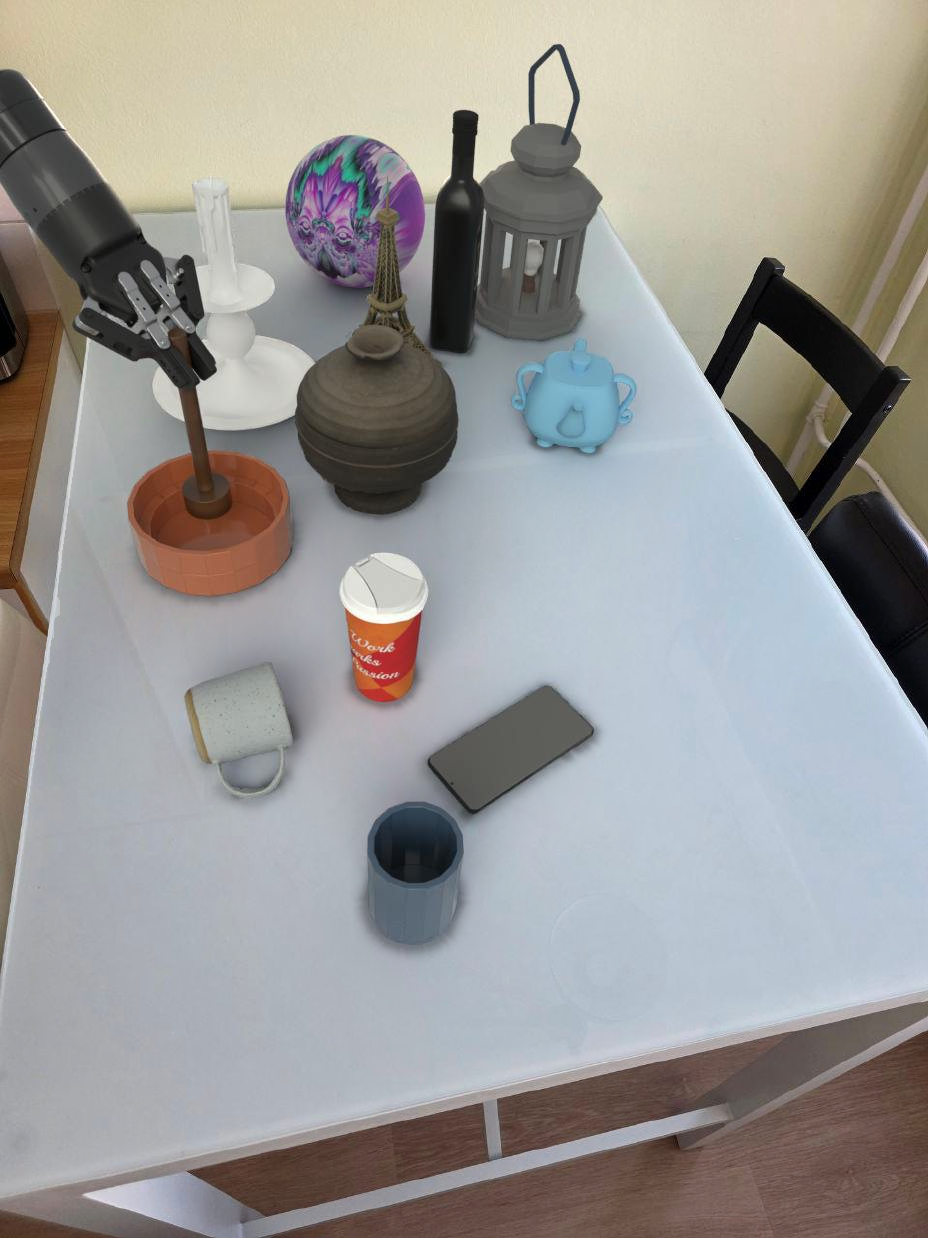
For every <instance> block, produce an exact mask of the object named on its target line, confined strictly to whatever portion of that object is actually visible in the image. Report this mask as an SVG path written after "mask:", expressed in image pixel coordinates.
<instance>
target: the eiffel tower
mask: <svg viewBox="0 0 928 1238" xmlns="http://www.w3.org/2000/svg"><path fill="white" fill-rule="evenodd" d="M377 213H379V214H378V215H377V217H376V218H375V219H376V220H377V221H379V222H380V223H381V226H380V235H379V244H378V253H377V262H376V270H375V277H374V285H373V286H372V293H369V294H367V296H366V299H365V300H366V302H368V303H369V307H368V310H367V314H366V316H365V319H364V321H363V323H362V324H359V325H358V328H359V327H362V326H366V325H382V326H388V327H391V328H393V329H395V330H397V331H398V332H399V333H400V334H401V335H402V337H403V340H404V343H405V344H408V345H410V346H413V347H415V348H417V349H419V350H421V351H423V352H425V353H426V354H428V355H429V356H430V357H432V358H433V359H434V360H436V361H437V362H438V363H439V364H440V365H441V366H442V365H443V362H441V361H440V360H438V359H436V358H435V357H434V354H433V353H432V352H431V350H430V349H429V348H428V347H427V346H426V344H424V342H423V341H422V340H421V339H420V337H419V336H418V335H417V334H416V332H414V330H415V329H416V326H414V325H412V323H411V321H410V319H409V317H408V313H407V308H406V305H405V304H406V303H407V301H409V298H408V295H407V293H403V289H402V281H401V274H400V273H401V272H400V273H399V265H398V257H397V247H396V238H395V229H394V223H395V222H397V221H399V220H400V219H399V217H398V216H397V215H396V214H397V213H398V212H397V211H395V210H393V209H391V208H389V195H388V176H387V193H386V208H384V209H381V210H379V211H377ZM395 313H396V315H397V317H396V316H395V315H393V314H395ZM379 314H380V315H379ZM378 315H379V316H378Z"/></svg>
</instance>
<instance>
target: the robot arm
mask: <svg viewBox="0 0 928 1238" xmlns="http://www.w3.org/2000/svg"><path fill="white" fill-rule="evenodd" d="M76 141H77V140H75V139H74V138H73V137H72V135H71V133H69V132H68V130H67V129H66V127H65V126H64V125H63V124H62V122H61V120H60V119H59V117H58V116H57V115H56V114H55V112H54V110H53V109H52V108H51V107H50V105H49V104H48V102H47V101H46V100H45V99H44V98H43V96H42V94H41V93H40V92H39V90H38V89H37V88H36V87H35V85H34V83H32V81H30V80H29V78H28V77H27V76H25V75H24V74H23V73H22V72H21V71H18V70H15V69H11V68H3V69H2V68H1V69H0V185H1V187H2V188H3V190H4V192H5V193H6V195H7V196H8V199H9V200H10V202H11V203H12V205H13V207H14V208H15V209H16V210H17V212H18V213H19V215H20V216H21V217H22V218H23V220H24V222H25V223H26V224H27V225H28V226H29V228H30V229H31V230H32V231H33V232H34V234H35V235H36V236H37V238H38V239H39V240H40V241H41V243H42V244H43V245H44V247H45V248H46V249H47V250H48V252H49V253H50V255H51V256H52V257H53V258H54V260H55V261H56V262H57V264H58V265H59V266H60V268H61V269H62V270H63V271H64V273H65V274H66V275H67V276H68V277H69V278H71V279H73V280H74V282H75V283H76V284H77V287H78V290H79V294H80V297H81V299H82V300H83V303H82V304H83V305H82V307H81V309H80V312H79V313H78V315H77V316H76V317H75V318H74V319H73V321H72V322H71V323H72V324H71V325H72V328H73V330H74V331H75V332H77V333H78V334H80V335H82V336H84V337H86V338H87V339H90V340H92V341H93V342H95V343H97V344H99V345H101V346H103V347H105V348H106V349H108V350H110V351H112V352H113V353H116V354H117V355H119V356H122V357H124V358H125V359H127V360H129V361H130V362H138V361H139V360H145V359H151V360H153V361H155V362H156V363H157V365H158V367H159V366H160V367H161V368H162V370H163V371H164V372H165V374H166V375H167V376H168V377H169V379H170V380H171V381H172V383H173V384H174V385H175V386H176V387H178V388H179V389H180V388H182V389H183V390H184V391H185V392H189V391H190V390H192V389H193V388H194V387H196V386H197V385H198V384H199V383H200V379H201V380H203V381H205V380H207V379H208V378H210V377H211V376H212V375H214V374H215V373H216V372H217V368H216V366H215V364H216V362H215V359H214V357H213V356H212V354H211V353H210V352H209V350H208V349H207V348H206V346H205V345H204V344H203V342H202V341H201V340H202V339H201V338H200V336H199V335H198V334H197V331H196V330H197V329H196V328H197V326H198V324H199V323H200V321H201V320H203V318H204V317H205V315H206V314H205V313H206V312H204V308H203V303H202V298H201V293H200V288H199V283H198V278H197V273H196V264H195V260H194V258H193V257H192V256H191V255H189V254H183V255H182V256H181V257H180V258H173V257H168V256H167V257H166V256H164V255H163V254H162V252H161V251H160V250H159V249H157V248H156V247H154V246H153V245H152V244H150V243H149V242H148V241H147V240H146V238H145V235H144V232H143V230H142V227H141V225H140V223H139V222H138V221H137V219H136V218H135V217H134V215H133V214H132V213H131V211H130V210H129V208H128V207H127V206H126V205H125V203H124V202H123V201H122V199H121V198H120V196H119V195H118V194H117V192H116V190H115V189H114V188H113V187H112V185H111V184H110V182H109V181H108V180H107V179H106V177H105V176H104V175H103V173H102V172H101V170H100V169H99V168H98V166H97V165H96V164H95V162H94V160H93V159H92V158H91V156H89V154H88V153H87V152H86V151H85V149H83V148H82V146H80V145H79V143H78V142H76ZM167 279H168V281H167ZM168 284H170V285H173V289H174V290H175V294H174V290H173V291H172V290H171V288H170V287H169V285H168ZM175 295H176V296H175ZM108 314H109V315H110V316H112V317H115V318H116V319H118V320H119V322H120V323H121V324H120V323H118V322H116V321H114V320H113V319H111V318H109V317H108ZM174 328H181V329H184V330H185V331H186V334H187V339H188V345H189V351H190V356H191V362H192V367H193V369H192V368H191V366H190V365H189V364H188V362H187V361H186V360H185V358H184V357H183V356H182V354H181V353H180V352H179V350H178V349H177V348H176V346H173V347H172V348H171V347H170V341H169V339H168V335H167V333H168V331H169V330H171V329H174ZM163 329H164V330H163ZM164 331H165V332H166V333H165V332H164ZM194 371H195V372H194ZM197 375H198V376H197ZM199 378H200V379H199Z"/></svg>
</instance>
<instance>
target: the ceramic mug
mask: <svg viewBox="0 0 928 1238" xmlns="http://www.w3.org/2000/svg"><path fill="white" fill-rule="evenodd" d="M184 703H185V710H186V714H187V717H188V721H189V725H190V729H191V732H192V737H193V740H194V743H195V747H196V750H197V753H198V755H199V758H200V759H201V760H202V761H203V762H204V763H206V764H209V765H214V766H215V771H216V774H217V776H218V779H219V781H220V783H221V785H222V786H223V787H224V788H225V790H227V791H228V792H229V793H230V794H232V795H234V796H236V797H239V798H243V799H255V798H260V797H262V796H265V795H267V794H269V793H270V792H272V791H273V790H275V789H276V788H277V787H278V785H279V784H280V782H281V780H282V778H283V776H284V773H285V769H286V749H287V748H289V747H292V746H293V745H294V739H293V733H292V728H291V724H290V720H289V716H288V713H287V712H288V711H287V709H286V705H285V701H284V698H283V695H282V691H281V687H280V685H279V682H278V678H277V675H276V671H275V668H274V665H273V663H272V662H270V661H266V662H263V663H260V664H257V665H253V666H251V667H248V668H244V669H240V670H238V671H234V672H232V673H231V672H230V673H229V674H225V675H222V676H219V677H214V678H212V679H207V680H205V681H202V682H200V683H198V684H195V685H194V686H192V687H190V688H188V689H187V690H186V692H185V693H184ZM273 751H279V753H280V757H279V759H280V760H279V768H278V770H277V773H276V774H275V775H274V778H272V780H271V782H270V783H269V784H268V785H267V786H262V787H256V788H249V787H246V786H245V787H242V788H240V787H237V786H233V785H232V784H231V783H229V781H227V780H226V777H225V775H224V774H223V770H222V764H225V763H230V762H235V761H236V760H239V759H243V758H246V757H247V758H248V757H252V756H256V755H261V754H267V753H271V752H273Z"/></svg>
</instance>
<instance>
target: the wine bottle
mask: <svg viewBox="0 0 928 1238" xmlns="http://www.w3.org/2000/svg"><path fill="white" fill-rule="evenodd" d="M479 118H480V117H479V114H478V113H477V112H476V111H473V110H470V109H458V110H455V111H454V112H453V113H452V128H451V133H452V146H451V147H452V148H451V164H450V174H449V175H448V176H447V177H446V178H445V179H444V181H443V182H442V184H441V186H440V189H439V191H438V193H437V195H436V200H435V207H434V226H433V227H434V228H433V250H432V269H431V270H432V271H431V272H432V273H431V295H430V315H429V316H430V317H429V340H428V342H429V347H431V348H432V349H436V350H440V351H448V352H453V353H459V354H460V353H461V354H462V353H466V352H468V351H469V350H470V347H471V344H472V341H473V338H474V333H475V332H474V330H475V319H476V317H475V309H476V297H477V287H478V285H479V284H478V283H479V274H480V273H479V272H480V271H479V270H480V261H481V260H480V259H481V250H482V249H481V247H482V238H483V236H482V235H483V225H484V213H485V209H484V192H483V189H482V186H481V184H480V182H479V180H478V179H476V178H475V177H474V170H475V155H476V140H477V139H476V138H477V136H478V133H479V132H478V125H479Z"/></svg>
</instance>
